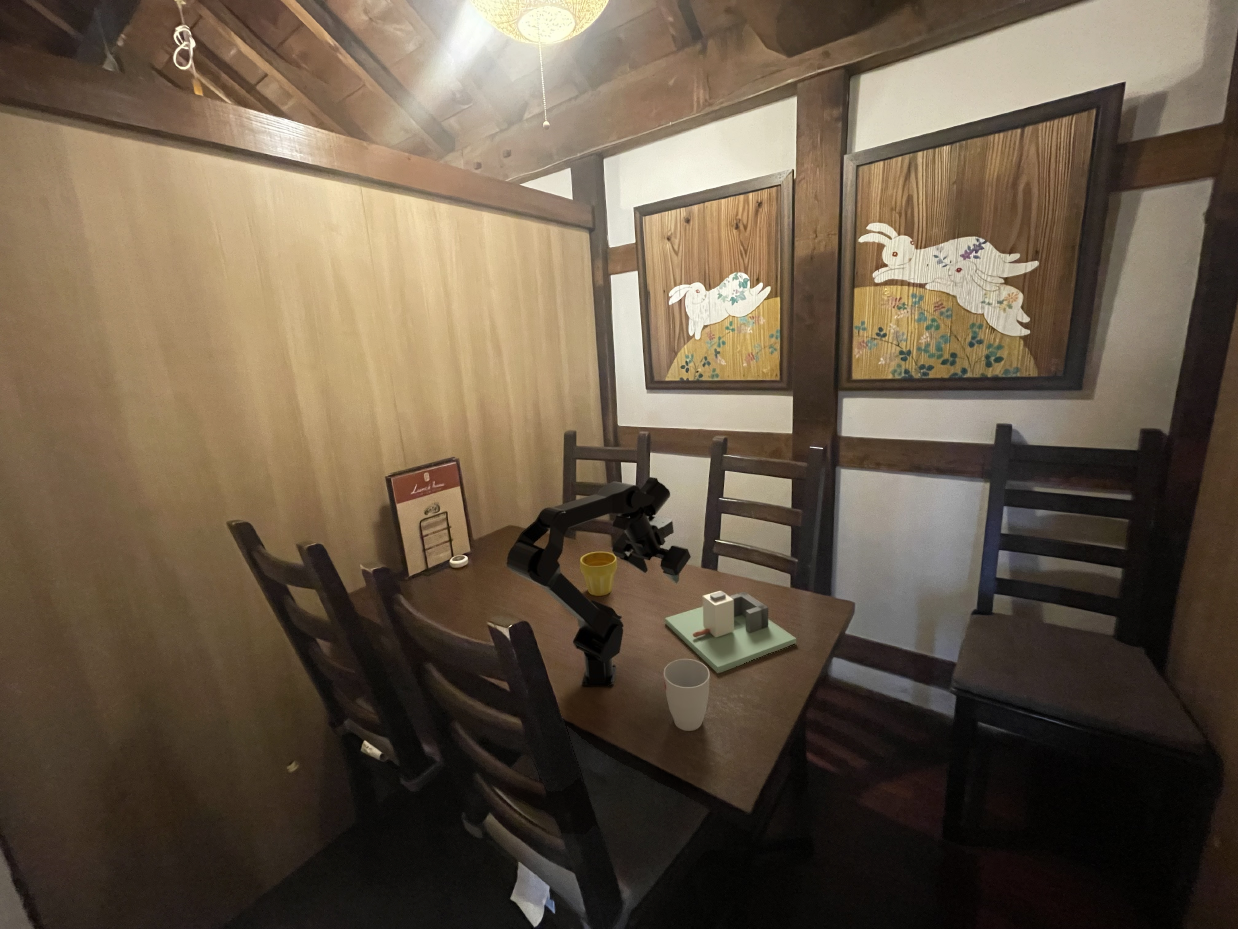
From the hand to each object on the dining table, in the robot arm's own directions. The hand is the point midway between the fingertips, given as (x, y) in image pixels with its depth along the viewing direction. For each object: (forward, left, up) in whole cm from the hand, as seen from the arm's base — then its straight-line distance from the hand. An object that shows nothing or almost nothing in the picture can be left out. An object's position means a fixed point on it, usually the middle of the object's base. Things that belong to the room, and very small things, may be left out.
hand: (661, 576), depth 117 cm
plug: (-4, -11, -12) cm, 17 cm away
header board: (-1, -15, -14) cm, 21 cm away
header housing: (+2, -20, -13) cm, 23 cm away
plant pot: (+20, +18, -14) cm, 31 cm away
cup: (-30, -5, -14) cm, 33 cm away
